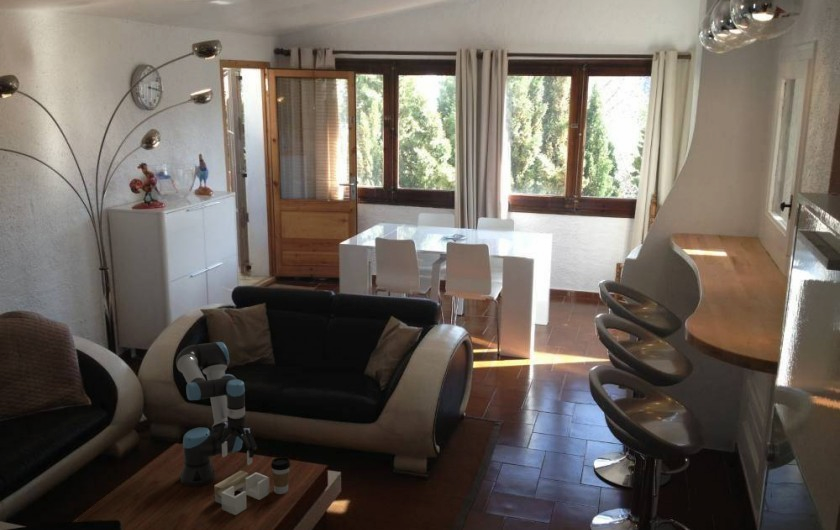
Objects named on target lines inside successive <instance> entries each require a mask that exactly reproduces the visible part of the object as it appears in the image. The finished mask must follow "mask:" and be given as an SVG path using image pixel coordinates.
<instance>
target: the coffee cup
mask: <svg viewBox="0 0 840 530" xmlns="http://www.w3.org/2000/svg"><path fill="white" fill-rule="evenodd" d="M270 467H271V472H272V474H271V475H272V482H273V490H274V493H275V494H277V495H284V494H287V493H288V492H289V481H290V467H291V461H290V458H289V457H285V456H283V457H282V456H281V457H276V458H275V457H274V458H273V459H272V461H271V465H270Z"/></svg>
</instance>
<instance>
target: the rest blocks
mask: <svg viewBox="0 0 840 530" xmlns="http://www.w3.org/2000/svg"><path fill="white" fill-rule="evenodd" d="M237 491H238V492H240V493H242V492H243V491H246V485H245V486H243V487H241V488H240V489H238V490H237ZM214 496H215V495H214ZM214 499H215V502H216V503H218V504H220V505H222V499H221V498H219V497H216V496H215V497H214Z"/></svg>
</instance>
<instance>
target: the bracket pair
mask: <svg viewBox="0 0 840 530" xmlns="http://www.w3.org/2000/svg"><path fill="white" fill-rule="evenodd" d="M270 484H271V483H270V476H266V475H264V474H262V473H259V472H253V473H252V474H251V475H248V477H247V478H246V491H243V492H240V493H238V494H236V495H235V492H234V486H232V487H230V488H228V489H227V490H225V491H223V492H222V493H221V497H222V504H221V510H223V511H225V512H227V513H229V514H232V515H234V516H237V515H239V514H240V513H242V512H243V511H244V510H245V511H246V509H247V508H248V507H247V496H248V497H252V498H253V499H256V500H258V501H259V500H262V499H264V498H265V497H267V496H269V495H270V493H271V492H270V491H271V490H270V488H271V487H270Z"/></svg>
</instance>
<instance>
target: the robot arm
mask: <svg viewBox="0 0 840 530" xmlns="http://www.w3.org/2000/svg"><path fill="white" fill-rule="evenodd" d="M230 361H231V360H230V355H229V350H228V347H227V345H226V343H224V342H222V341H217V342H216V341H213V342H207V343H199V344H191V345H188V346H186V347H184V348H183V349H181V351H180V352H179V353H178V355H177V356H176V359H175V366H176V368H177V370H178V372H180V373H182V376H183V377H184V379H185V382H186V383H187V384H186V386H185V390H186V396H187V397H186V398H187V400H189V401H200V400H205V399H210V403H211V409H212V410H211V411H212V416H213V424H212V426H211V429H209V428H208V427H195V428H194V427H193V428H192V429H190V430H188V431H187V432H186V433H184V435H183V437H182V439H183V440H182V447H183V448H182V449H183V462H184V463H183V468H182V471H181V474H180V482H181V484H183V485H184V486H186V487H193V488H194V487H196V488H197V487H198V488H199V487H203V486H205V485H209V484H210V483H212V482H213V481H214V480H215V479H216V471H215V469H214V466H213V464H212V461H211V458H212V457H214V456H215V457H216V456H220V455H221V457H222V458H225V457H227V456H228V454H232V453H235V452H239V451H241V450H242V448H243V444H244V446H245V448H246V449H247V451H246V461H247V462H246V465H247V466H250V465H251V464H252V463H253V462H254V461H253V457H254V456H255V455H254V453H255V451H257V449H258V445H257V442H256V440H255V438H254V436H253V433H252V428H251V427H248V428H247V427H246V426H245V425H246V406H245V405H246V402H245V401H246V400H245V399H246V395H245V392H246V388H245V382H244V381H243V380H241V379H237V377H236V376H234V375H233V374H230V373H226V371H227V368H228V366H229V365H230ZM201 369H202V371H201ZM204 375H206V378H205V376H204ZM206 379H207V380H206Z"/></svg>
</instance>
